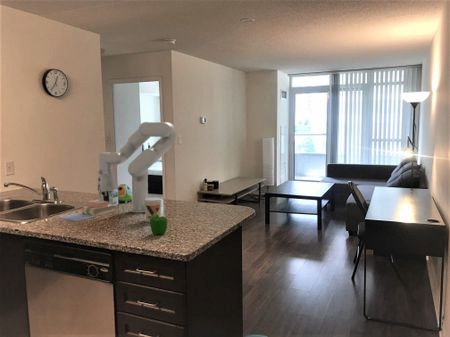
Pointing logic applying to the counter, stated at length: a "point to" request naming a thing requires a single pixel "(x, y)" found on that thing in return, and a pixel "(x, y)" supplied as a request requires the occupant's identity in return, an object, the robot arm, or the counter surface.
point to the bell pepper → (158, 224)
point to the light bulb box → (111, 197)
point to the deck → (97, 210)
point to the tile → (97, 203)
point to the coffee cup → (152, 207)
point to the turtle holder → (124, 192)
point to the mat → (76, 217)
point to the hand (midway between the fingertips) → (106, 201)
